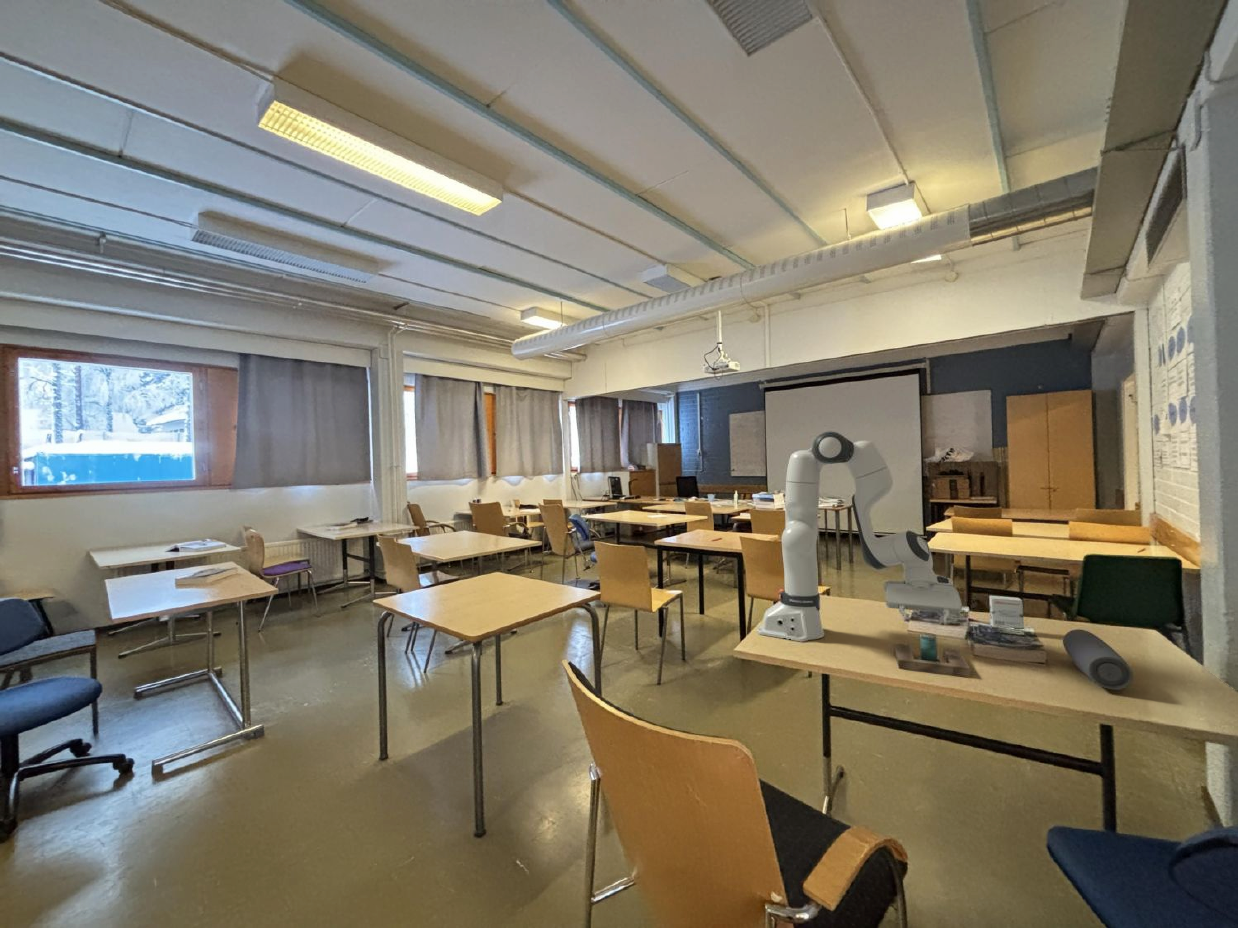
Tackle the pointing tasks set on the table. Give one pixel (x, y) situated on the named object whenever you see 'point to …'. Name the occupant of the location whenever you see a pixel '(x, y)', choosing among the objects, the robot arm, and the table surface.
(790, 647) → the table surface
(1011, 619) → the ink box
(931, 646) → the bobbin
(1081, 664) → the bluetooth speaker
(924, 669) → the notched board
